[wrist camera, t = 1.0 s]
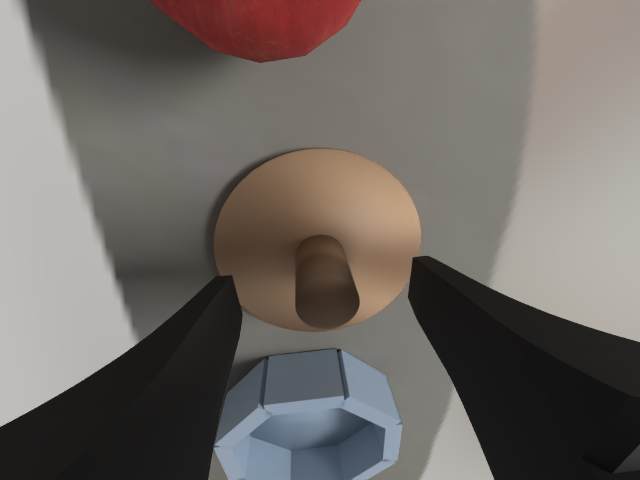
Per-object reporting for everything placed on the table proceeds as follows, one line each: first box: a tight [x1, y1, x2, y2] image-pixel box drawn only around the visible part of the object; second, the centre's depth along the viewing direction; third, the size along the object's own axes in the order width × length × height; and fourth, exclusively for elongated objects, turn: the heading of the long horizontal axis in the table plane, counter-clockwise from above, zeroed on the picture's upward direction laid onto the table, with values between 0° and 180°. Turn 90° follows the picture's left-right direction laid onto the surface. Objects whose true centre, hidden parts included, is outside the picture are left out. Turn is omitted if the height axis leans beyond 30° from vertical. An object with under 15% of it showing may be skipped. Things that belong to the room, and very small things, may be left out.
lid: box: [214, 148, 421, 332], centre depth 12 cm, size 10×10×4 cm
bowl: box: [214, 349, 403, 480], centre depth 17 cm, size 11×11×3 cm
